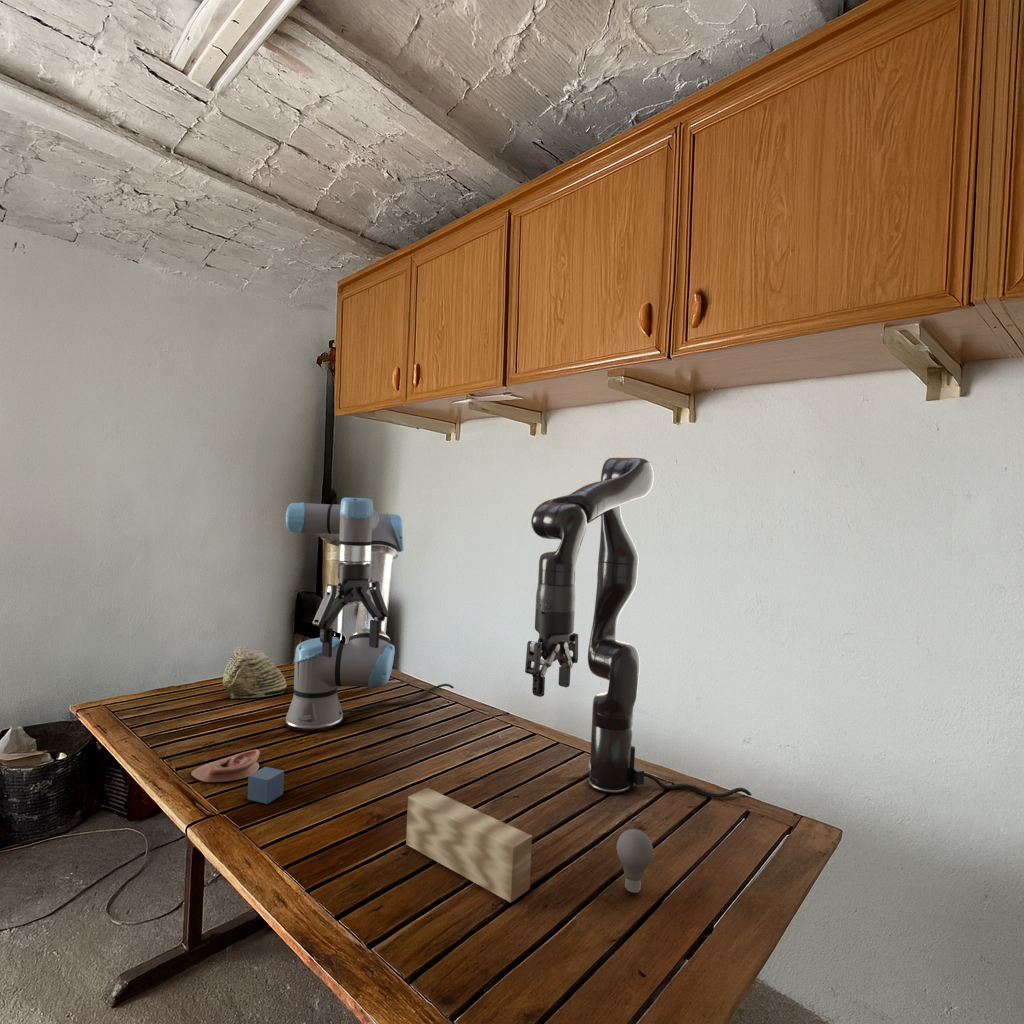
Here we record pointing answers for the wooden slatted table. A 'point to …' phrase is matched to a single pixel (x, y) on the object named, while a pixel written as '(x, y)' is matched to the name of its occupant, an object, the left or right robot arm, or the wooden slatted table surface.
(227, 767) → the anatomical model
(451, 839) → the ash bar
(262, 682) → the fossil
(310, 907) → the wooden slatted table surface
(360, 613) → the left robot arm
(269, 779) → the slate blue block
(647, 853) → the light bulb
